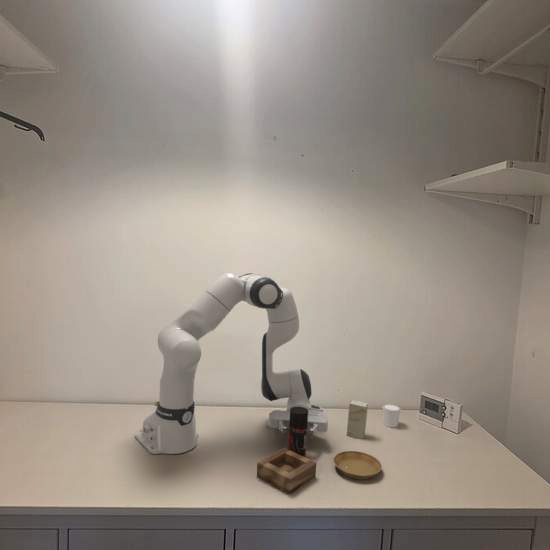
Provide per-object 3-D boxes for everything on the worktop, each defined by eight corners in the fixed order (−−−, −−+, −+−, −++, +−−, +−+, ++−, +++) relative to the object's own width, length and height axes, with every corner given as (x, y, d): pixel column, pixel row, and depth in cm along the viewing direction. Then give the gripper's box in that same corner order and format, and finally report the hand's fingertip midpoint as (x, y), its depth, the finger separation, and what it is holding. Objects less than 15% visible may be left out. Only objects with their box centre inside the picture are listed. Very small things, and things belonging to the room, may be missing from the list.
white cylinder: (401, 424, 169) (402, 406, 169) (396, 430, 164) (397, 412, 163) (384, 419, 173) (385, 402, 172) (378, 425, 167) (380, 407, 167)
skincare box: (346, 435, 157) (348, 403, 156) (349, 430, 161) (351, 399, 160) (363, 439, 154) (366, 406, 153) (365, 434, 159) (368, 402, 157)
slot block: (256, 476, 127) (257, 462, 126) (283, 461, 136) (283, 447, 136) (289, 494, 119) (290, 479, 119) (315, 477, 128) (316, 462, 128)
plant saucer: (324, 471, 132) (324, 463, 132) (345, 453, 144) (346, 446, 144) (369, 489, 124) (370, 481, 124) (387, 468, 136) (388, 461, 136)
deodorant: (304, 460, 138) (307, 415, 137) (286, 457, 139) (288, 412, 138) (306, 451, 144) (309, 407, 142) (289, 448, 145) (291, 405, 144)
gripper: (270, 403, 155) (266, 419, 141) (327, 407, 153) (329, 424, 139) (269, 420, 155) (265, 437, 141) (325, 424, 154) (328, 443, 140)
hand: (297, 431), depth 140 cm, fingers open, 8 cm apart
